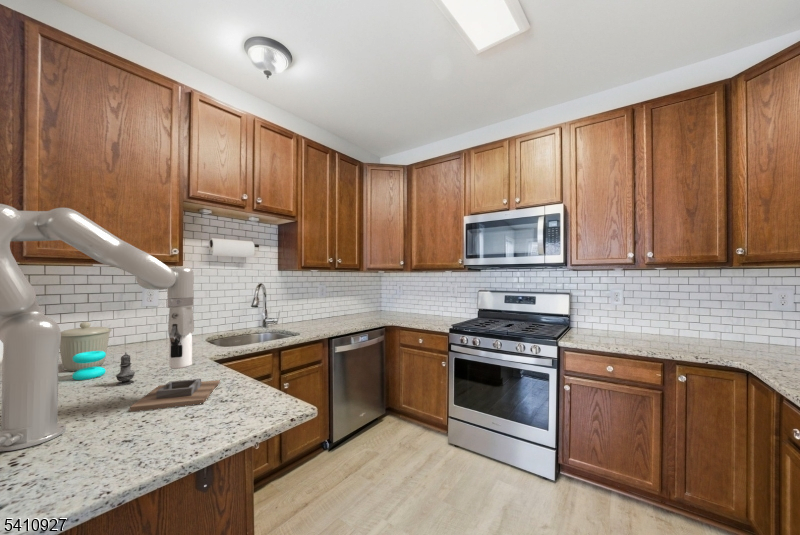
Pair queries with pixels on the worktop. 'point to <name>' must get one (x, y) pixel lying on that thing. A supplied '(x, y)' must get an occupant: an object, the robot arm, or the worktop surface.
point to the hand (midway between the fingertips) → (180, 354)
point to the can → (186, 354)
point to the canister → (83, 345)
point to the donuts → (90, 371)
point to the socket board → (176, 394)
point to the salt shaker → (125, 371)
